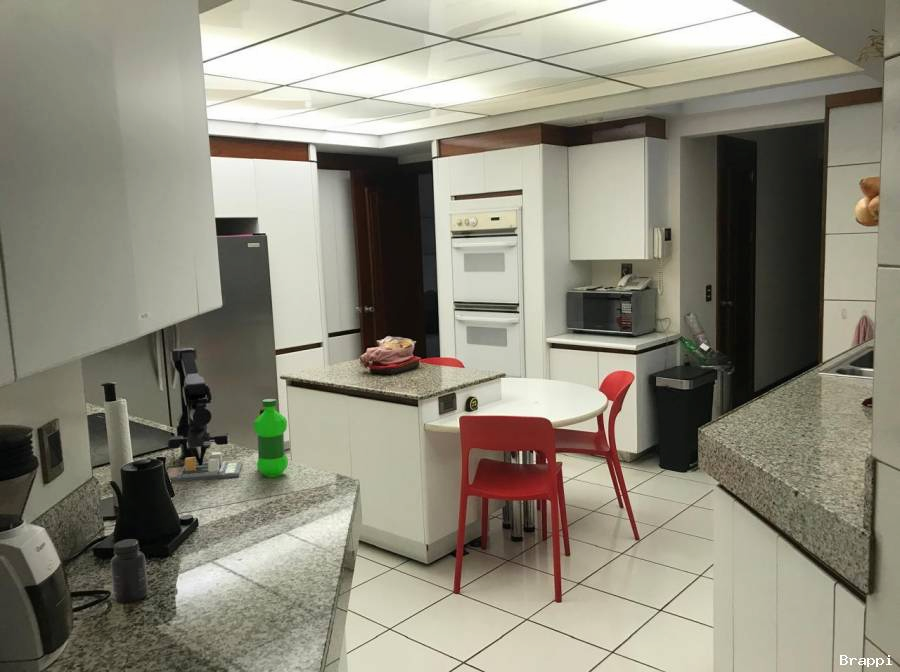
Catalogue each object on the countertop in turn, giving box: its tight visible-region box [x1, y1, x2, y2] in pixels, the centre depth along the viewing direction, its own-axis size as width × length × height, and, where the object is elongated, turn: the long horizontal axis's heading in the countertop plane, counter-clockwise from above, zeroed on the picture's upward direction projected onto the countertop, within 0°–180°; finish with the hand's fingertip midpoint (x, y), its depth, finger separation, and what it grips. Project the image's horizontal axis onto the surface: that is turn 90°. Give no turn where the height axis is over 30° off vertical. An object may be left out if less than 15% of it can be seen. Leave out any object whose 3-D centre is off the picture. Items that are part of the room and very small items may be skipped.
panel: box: [166, 460, 243, 483], centre depth 240 cm, size 13×24×2 cm, turn 101°
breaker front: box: [207, 458, 219, 473], centre depth 237 cm, size 3×3×4 cm
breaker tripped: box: [184, 457, 197, 471], centre depth 239 cm, size 3×3×4 cm
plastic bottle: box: [253, 398, 289, 478], centre depth 237 cm, size 10×10×25 cm
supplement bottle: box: [109, 538, 149, 604], centre depth 154 cm, size 7×7×12 cm
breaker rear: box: [210, 451, 223, 466], centre depth 245 cm, size 3×3×4 cm
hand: (200, 465), depth 240 cm, fingers closed
